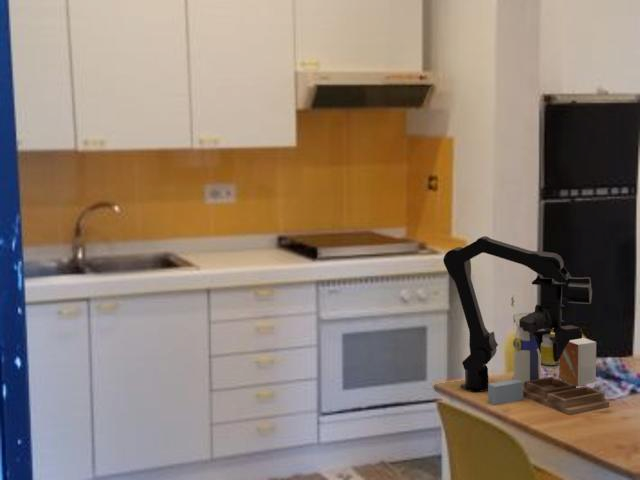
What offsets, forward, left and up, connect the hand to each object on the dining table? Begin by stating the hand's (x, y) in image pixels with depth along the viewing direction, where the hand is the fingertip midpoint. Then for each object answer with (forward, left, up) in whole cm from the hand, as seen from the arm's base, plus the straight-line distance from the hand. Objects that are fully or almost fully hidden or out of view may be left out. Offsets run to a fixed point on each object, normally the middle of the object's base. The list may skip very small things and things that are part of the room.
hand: (549, 359), depth 236 cm
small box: (-3, +12, -10) cm, 16 cm away
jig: (+5, 0, -10) cm, 11 cm away
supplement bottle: (0, 0, -2) cm, 2 cm away
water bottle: (-12, +2, -10) cm, 16 cm away
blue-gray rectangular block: (-2, -13, -10) cm, 16 cm away
